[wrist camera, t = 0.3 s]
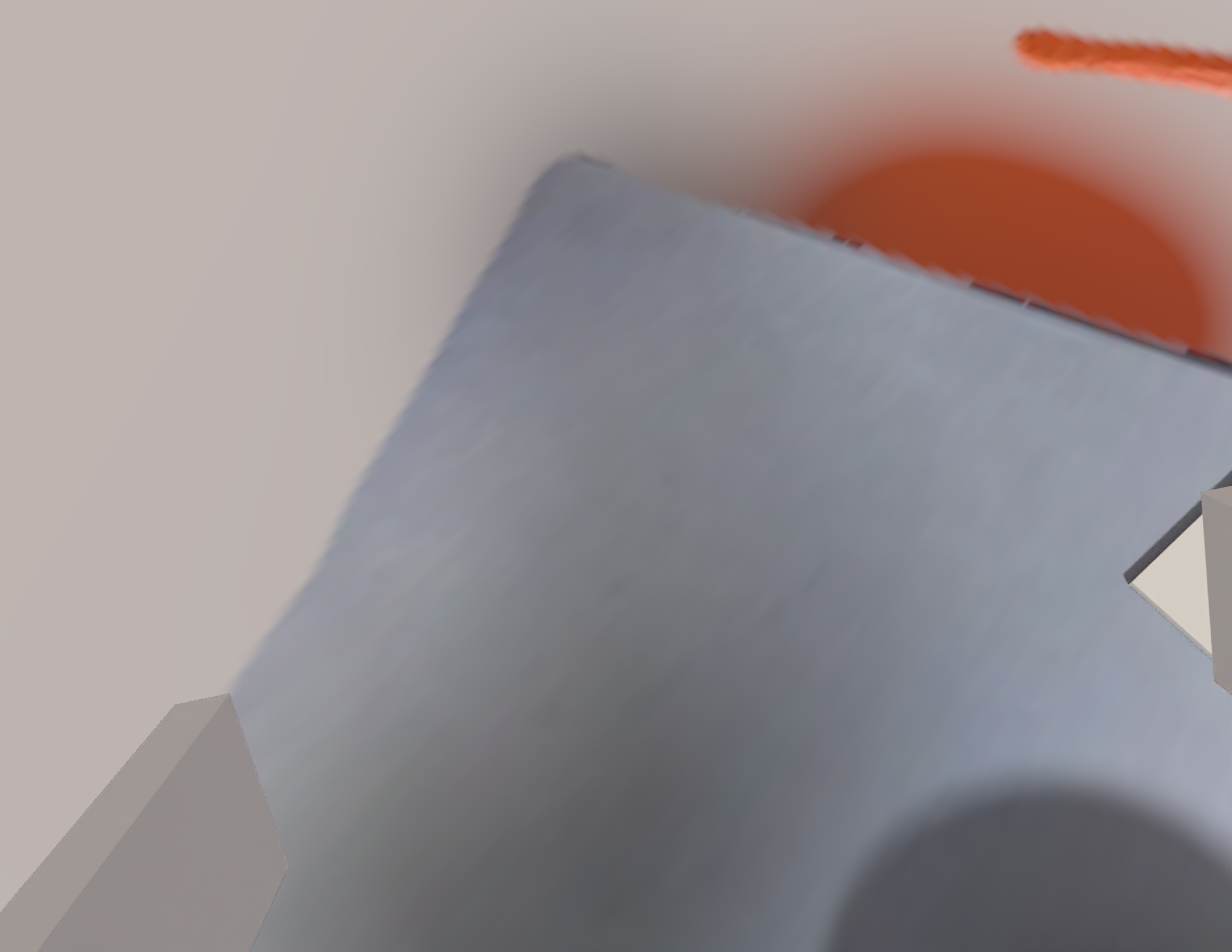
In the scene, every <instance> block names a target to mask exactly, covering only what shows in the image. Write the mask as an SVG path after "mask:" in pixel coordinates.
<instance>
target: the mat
mask: <svg viewBox="0 0 1232 952" xmlns="http://www.w3.org/2000/svg"><path fill="white" fill-rule="evenodd" d="M1231 486H1232V485H1231ZM1129 585H1130V586H1131V587H1132V588H1133V589H1134V590H1136V591H1137V592H1138V593H1139V594H1140V595H1141V596H1142V597H1143V598H1144V599H1146V600H1147V601H1148V602H1149V603H1150V604H1151V605H1152V606H1153V607H1154V608H1156V609H1157V610H1158V611H1159V612H1160V613H1161V614H1162V615H1163V616H1164V617H1166V618H1167V619H1168V620H1169V621H1170V622H1171V623H1172V624H1173V625H1174V626H1176V627H1177V628H1178V629H1179V630H1180V631H1181V632H1182V633H1183V634H1184V635H1186V636H1187V637H1188V638H1189V639H1190V640H1191V641H1192V642H1193V643H1195V644H1196V645H1197V646H1198V647H1199V648H1200V649H1201V650H1202V651H1203V652H1205V653H1206V654H1207V655H1208V656H1209V657H1210V658H1211V659H1212V645H1211V631H1210V616H1209V602H1208V587H1207V573H1206V558H1205V544H1204V530H1203V515H1202V514H1201V515H1200V516H1199V517H1198V518H1197V519H1196V520H1195V521H1194V522H1193V523H1192V524H1191V525H1190V526H1189V527H1188V528H1187V529H1186V530H1185V531H1184V532H1183V533H1182V534H1181V535H1179V536H1178V537H1177V538H1176V539H1175V540H1174V541H1173V542H1172V543H1171V544H1170V545H1169V546H1168V547H1167V548H1166V549H1165V550H1164V551H1163V552H1162V553H1161V554H1160V555H1159V556H1158V557H1157V558H1156V559H1155V560H1153V561H1152V562H1151V563H1150V564H1149V565H1148V566H1147V567H1146V568H1145V569H1144V570H1143V571H1142V572H1141V573H1140V574H1139V575H1138V576H1137V577H1136V578H1135V579H1134V580H1133V581H1132V582H1131V583H1130V584H1129ZM1212 660H1213V659H1212Z"/></svg>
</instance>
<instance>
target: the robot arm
mask: <svg viewBox="0 0 1232 952" xmlns="http://www.w3.org/2000/svg"><path fill="white" fill-rule="evenodd" d="M1201 501H1202V515H1203V530H1204V544H1205V558H1206V573H1207V587H1208V602H1209V616H1210V631H1211V645H1212V659H1213V674H1214V682H1216V683H1217V684H1218V685H1220V686H1221V687H1222V688H1224V689H1225V690H1226V691H1227V692H1229V693H1230V694H1231V695H1232V486H1228V487H1223V488H1218V489H1214V490H1209V491H1204V492H1201ZM288 868H289V866H288V863H287V860H286V857H285V854H284V851H283V848H282V845H281V843H280V840H279V837H278V834H277V831H276V828H275V825H274V822H273V819H272V816H271V813H270V810H269V807H268V804H267V801H266V799H265V796H264V793H263V790H262V787H261V784H260V781H259V778H258V775H257V772H256V769H255V766H254V763H253V760H252V757H251V755H250V752H249V749H248V746H247V743H246V740H245V737H244V734H243V731H242V728H241V725H240V722H239V719H238V716H237V713H236V711H235V708H234V705H233V702H232V699H231V696H230V693H229V694H225V695H220V696H215V697H210V698H205V699H201V700H196V701H191V702H186V703H181V704H177V705H174V707H173V708H172V709H171V710H170V711H169V712H168V714H167V715H166V716H165V717H164V718H163V720H162V721H161V722H160V723H159V724H158V726H157V727H156V728H155V729H154V730H153V731H152V733H151V734H150V735H149V736H148V737H147V739H146V740H145V741H144V742H143V743H142V745H141V746H140V747H139V748H138V749H137V751H136V752H135V753H134V754H133V755H132V756H131V758H130V759H129V760H128V761H127V762H126V764H125V765H124V766H123V767H122V768H121V770H120V771H119V772H118V773H117V775H115V777H114V778H113V779H112V780H111V781H110V783H109V784H108V785H107V786H106V787H105V789H104V790H103V791H102V792H101V793H100V794H99V796H98V797H97V798H96V799H95V800H94V802H93V803H92V804H91V805H90V806H89V808H88V809H87V810H86V811H85V812H84V814H83V815H82V816H81V817H80V818H79V820H78V821H77V822H76V823H75V824H74V825H73V827H72V828H71V829H70V830H69V831H68V833H67V834H66V835H65V836H64V837H63V838H62V840H61V841H60V842H59V843H58V844H57V846H56V847H55V848H54V849H53V850H52V852H51V853H50V854H49V855H48V856H47V857H46V859H45V860H44V861H43V862H42V864H41V865H40V866H39V867H38V868H37V870H36V871H35V872H34V873H33V874H32V875H31V877H30V878H29V879H28V880H27V881H26V883H25V884H24V885H23V886H22V887H21V888H20V890H19V891H18V892H17V893H16V894H15V896H14V897H13V898H12V900H10V902H9V903H8V904H7V905H6V906H5V907H4V909H3V910H2V911H1V912H0V952H250V950H251V948H252V946H253V944H254V942H255V939H256V937H257V935H258V933H259V931H260V929H261V926H262V924H263V922H264V920H265V918H266V916H267V913H268V911H269V909H270V907H271V905H272V903H273V900H274V898H275V896H276V894H277V892H278V890H279V887H280V885H281V883H282V881H283V879H284V877H285V874H286V872H287V870H288Z"/></svg>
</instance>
